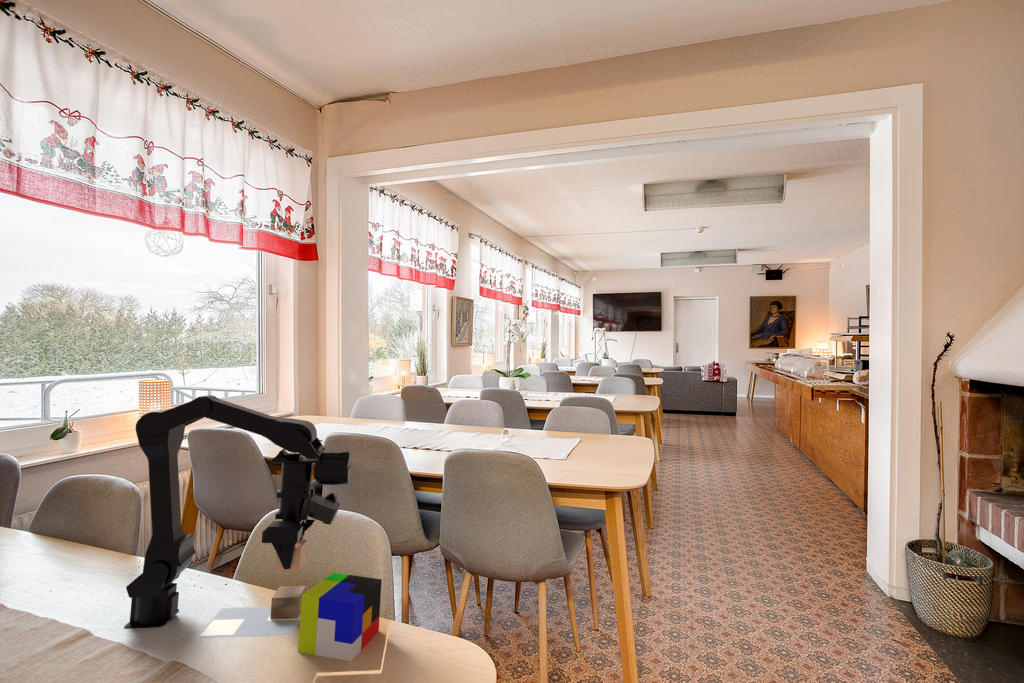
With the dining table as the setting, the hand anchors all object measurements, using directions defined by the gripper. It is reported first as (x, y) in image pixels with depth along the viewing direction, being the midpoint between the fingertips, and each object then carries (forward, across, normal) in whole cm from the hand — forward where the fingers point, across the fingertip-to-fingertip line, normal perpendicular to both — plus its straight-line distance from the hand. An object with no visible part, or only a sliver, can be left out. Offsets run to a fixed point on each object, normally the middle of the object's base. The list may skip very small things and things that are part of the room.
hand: (290, 564), depth 99 cm
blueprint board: (+10, -3, +5) cm, 11 cm away
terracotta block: (0, 0, 0) cm, 0 cm away
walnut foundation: (+9, 0, 0) cm, 9 cm away
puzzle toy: (+10, -11, -12) cm, 19 cm away
